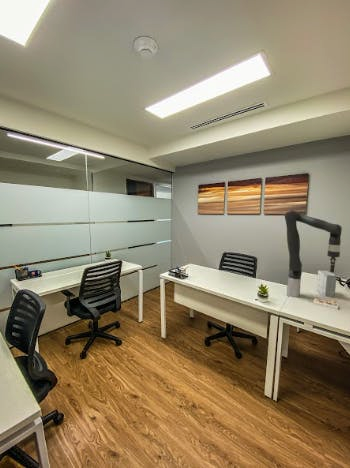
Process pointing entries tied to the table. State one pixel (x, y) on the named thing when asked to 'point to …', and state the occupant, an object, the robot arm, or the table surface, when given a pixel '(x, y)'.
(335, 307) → the power strip
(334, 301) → the button
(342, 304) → the table surface
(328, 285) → the hard drive box
